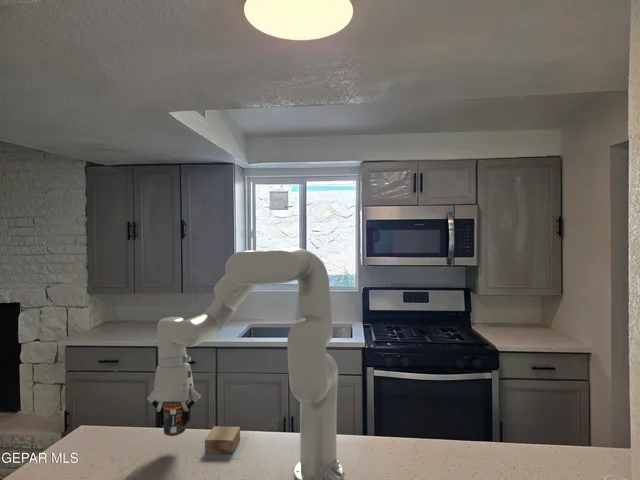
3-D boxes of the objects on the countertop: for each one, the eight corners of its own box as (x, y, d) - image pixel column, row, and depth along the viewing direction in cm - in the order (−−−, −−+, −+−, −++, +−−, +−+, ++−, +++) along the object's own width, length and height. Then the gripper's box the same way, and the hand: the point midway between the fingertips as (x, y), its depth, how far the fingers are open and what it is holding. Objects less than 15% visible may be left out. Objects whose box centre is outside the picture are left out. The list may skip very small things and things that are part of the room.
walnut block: (240, 440, 119) (240, 426, 119) (232, 454, 111) (232, 440, 111) (214, 439, 120) (214, 426, 120) (204, 453, 112) (204, 439, 112)
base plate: (248, 440, 121) (248, 437, 121) (237, 462, 109) (237, 458, 109) (209, 439, 122) (209, 435, 122) (195, 461, 110) (195, 457, 110)
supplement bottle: (178, 437, 110) (177, 397, 110) (159, 436, 111) (158, 396, 111) (189, 427, 116) (188, 389, 116) (171, 426, 117) (170, 388, 117)
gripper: (206, 356, 117) (208, 417, 117) (150, 357, 118) (152, 418, 118) (197, 364, 109) (199, 429, 109) (136, 365, 111) (139, 429, 110)
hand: (174, 422), depth 114 cm, fingers closed on supplement bottle, 6 cm apart
